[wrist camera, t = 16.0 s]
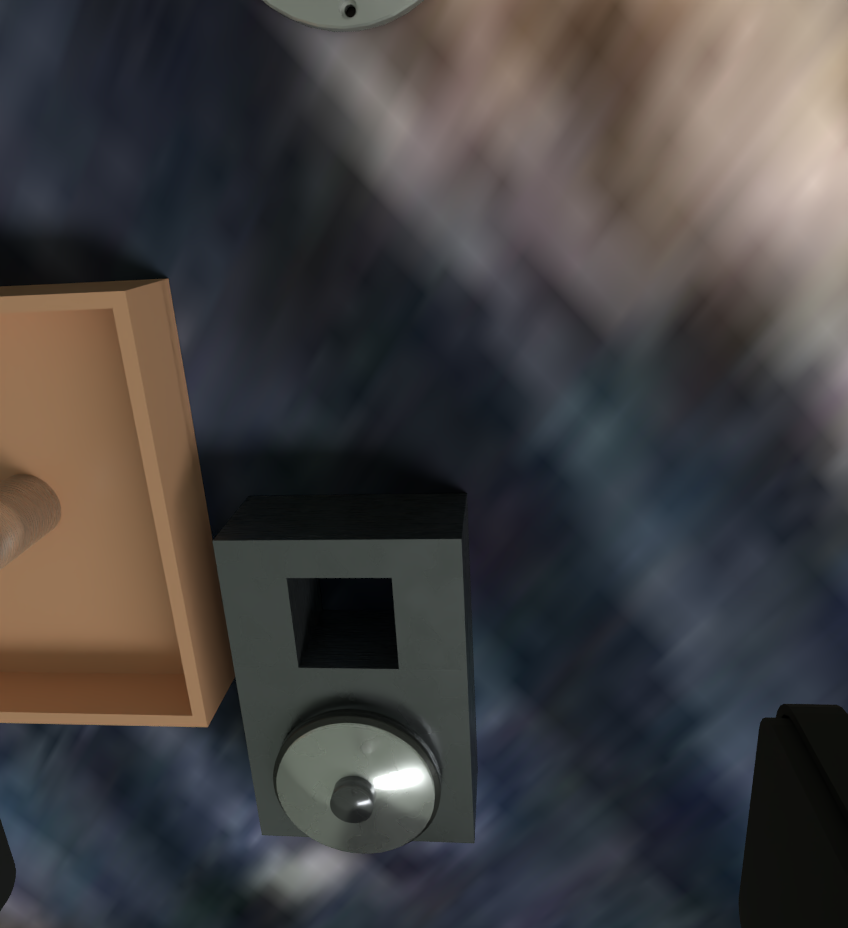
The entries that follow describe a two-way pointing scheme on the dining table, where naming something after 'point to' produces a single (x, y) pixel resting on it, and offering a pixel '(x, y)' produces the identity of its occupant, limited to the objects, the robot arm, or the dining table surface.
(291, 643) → the pulley bracket
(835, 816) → the robot arm
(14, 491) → the lock pin
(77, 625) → the tray
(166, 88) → the dining table surface
